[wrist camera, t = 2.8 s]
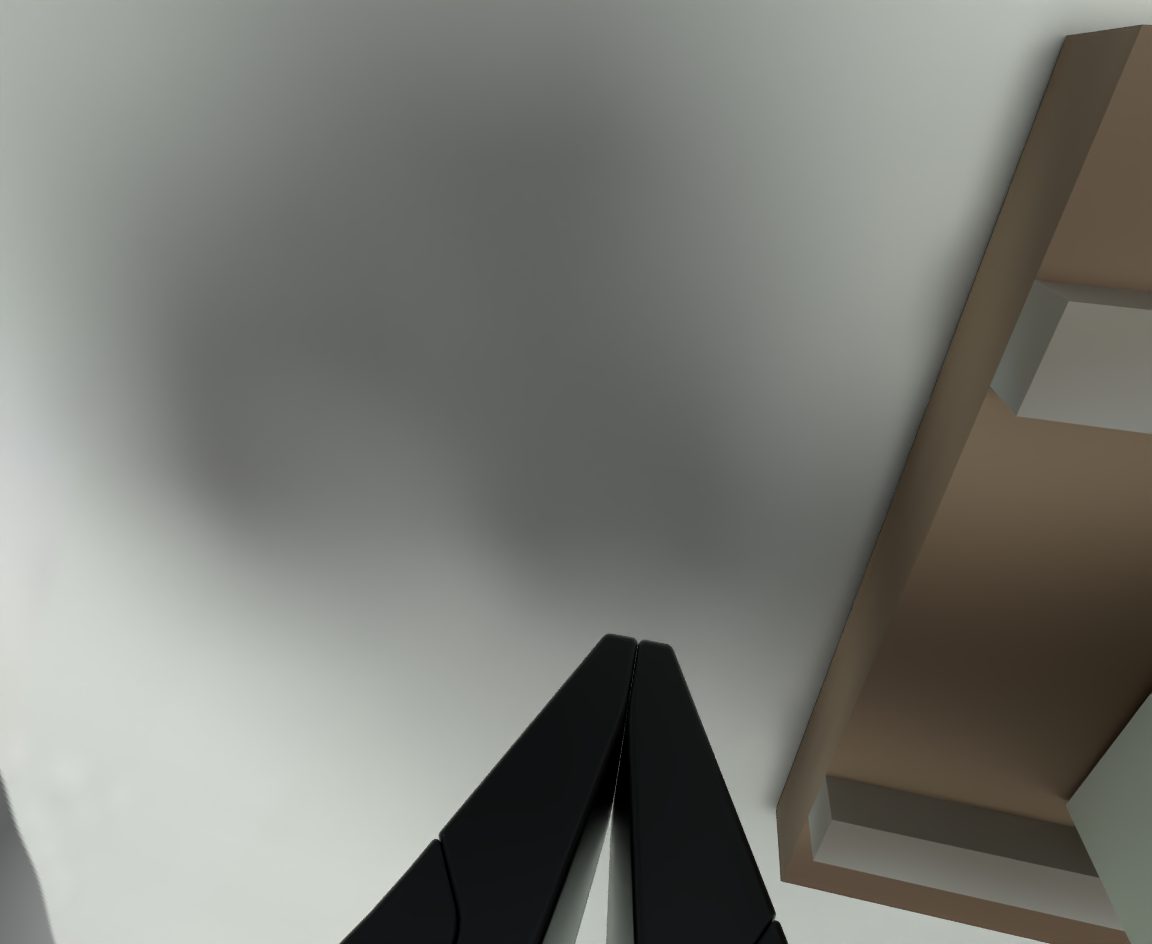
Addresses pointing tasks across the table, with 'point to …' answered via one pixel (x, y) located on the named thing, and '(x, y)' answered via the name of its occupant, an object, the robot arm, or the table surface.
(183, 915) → the table surface
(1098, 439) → the track
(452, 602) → the table surface
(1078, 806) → the block
